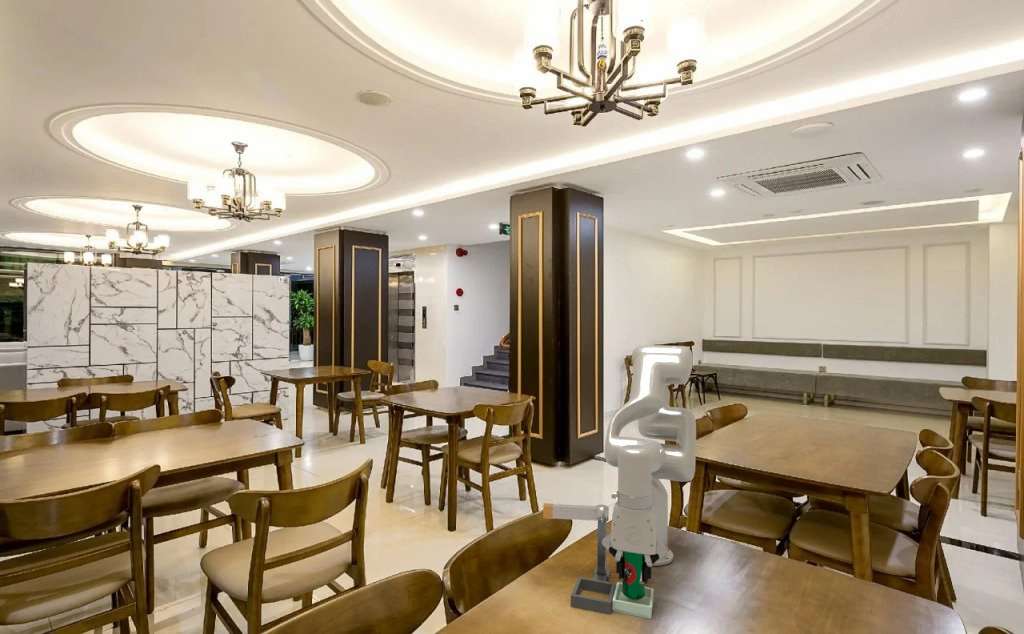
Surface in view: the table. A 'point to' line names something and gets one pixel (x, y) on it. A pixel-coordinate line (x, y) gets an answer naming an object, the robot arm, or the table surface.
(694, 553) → the table surface
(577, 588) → the collar
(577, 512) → the bar
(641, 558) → the soda can
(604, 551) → the post
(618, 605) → the tray
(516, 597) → the table surface
